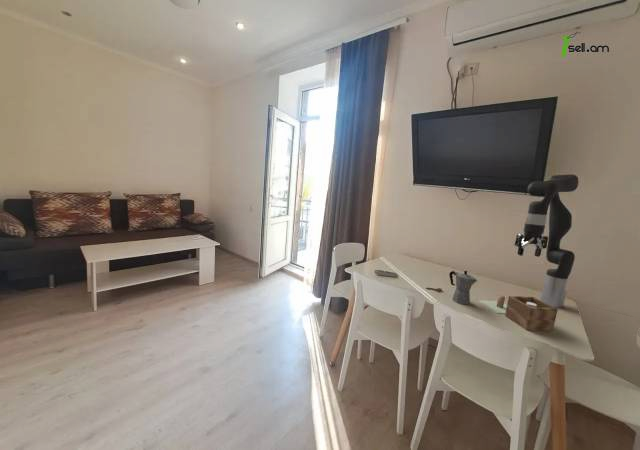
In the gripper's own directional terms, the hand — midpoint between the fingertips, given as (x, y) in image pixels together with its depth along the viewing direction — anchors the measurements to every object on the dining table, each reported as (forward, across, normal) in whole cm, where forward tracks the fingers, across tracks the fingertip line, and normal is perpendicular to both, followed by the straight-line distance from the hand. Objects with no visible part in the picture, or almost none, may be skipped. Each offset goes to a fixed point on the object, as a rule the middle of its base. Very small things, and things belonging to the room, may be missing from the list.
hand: (528, 255), depth 126 cm
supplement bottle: (+33, -1, +6) cm, 33 cm away
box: (+32, -1, +6) cm, 33 cm away
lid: (+33, +1, -10) cm, 35 cm away
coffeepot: (+33, +20, -17) cm, 42 cm away
